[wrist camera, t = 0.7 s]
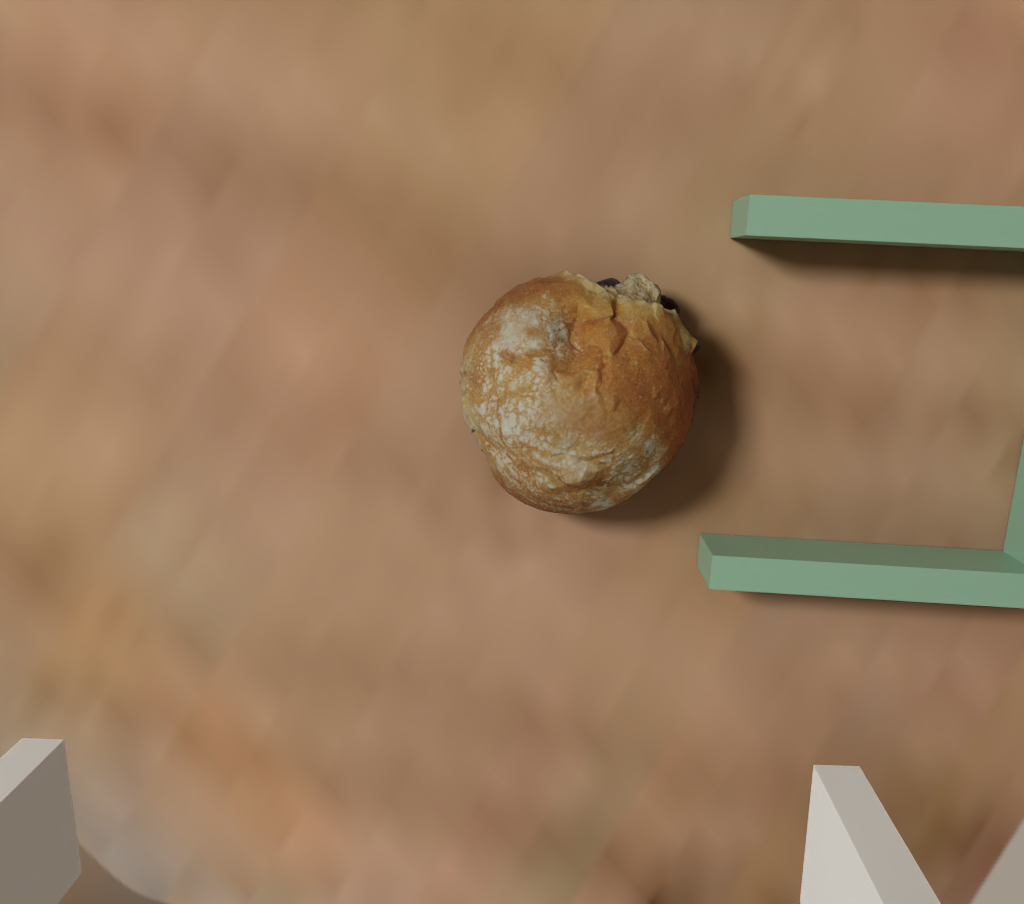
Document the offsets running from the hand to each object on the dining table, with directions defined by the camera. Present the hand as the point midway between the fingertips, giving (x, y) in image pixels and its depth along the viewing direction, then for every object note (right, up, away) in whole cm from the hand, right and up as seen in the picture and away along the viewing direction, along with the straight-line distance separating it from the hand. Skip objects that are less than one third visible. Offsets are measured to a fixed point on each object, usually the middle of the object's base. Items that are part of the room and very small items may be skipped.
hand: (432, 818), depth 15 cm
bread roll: (+4, +10, +22) cm, 25 cm away
